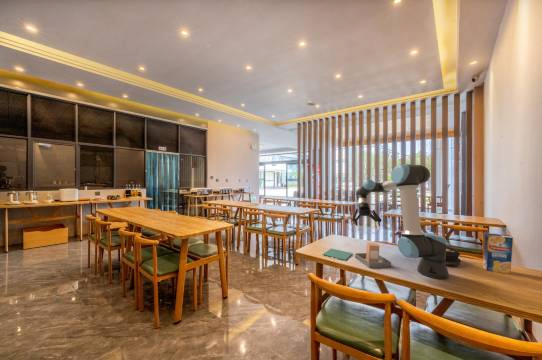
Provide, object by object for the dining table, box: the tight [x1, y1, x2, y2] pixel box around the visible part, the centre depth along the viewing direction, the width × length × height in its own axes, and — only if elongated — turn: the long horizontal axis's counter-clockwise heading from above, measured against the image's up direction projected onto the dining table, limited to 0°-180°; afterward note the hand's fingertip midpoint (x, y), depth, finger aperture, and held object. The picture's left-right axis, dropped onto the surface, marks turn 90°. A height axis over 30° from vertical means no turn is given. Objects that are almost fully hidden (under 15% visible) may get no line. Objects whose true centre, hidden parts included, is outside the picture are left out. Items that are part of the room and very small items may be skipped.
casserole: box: [445, 245, 462, 266], centre depth 160 cm, size 25×19×8 cm
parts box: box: [365, 242, 380, 263], centre depth 153 cm, size 6×6×12 cm
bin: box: [354, 252, 392, 269], centre depth 153 cm, size 17×15×3 cm
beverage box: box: [482, 232, 514, 275], centre depth 145 cm, size 7×11×22 cm, turn 62°
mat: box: [322, 248, 353, 262], centre depth 166 cm, size 16×16×1 cm
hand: (368, 229), depth 165 cm, fingers open, 13 cm apart
